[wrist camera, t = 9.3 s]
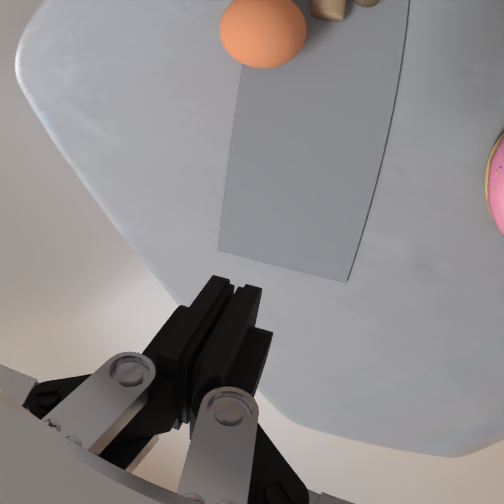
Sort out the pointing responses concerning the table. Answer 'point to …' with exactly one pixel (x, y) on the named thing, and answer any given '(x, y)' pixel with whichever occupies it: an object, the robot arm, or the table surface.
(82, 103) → the table surface
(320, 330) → the table surface
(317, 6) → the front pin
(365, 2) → the pin
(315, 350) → the table surface
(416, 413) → the table surface
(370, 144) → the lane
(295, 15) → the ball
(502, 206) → the doughnut
